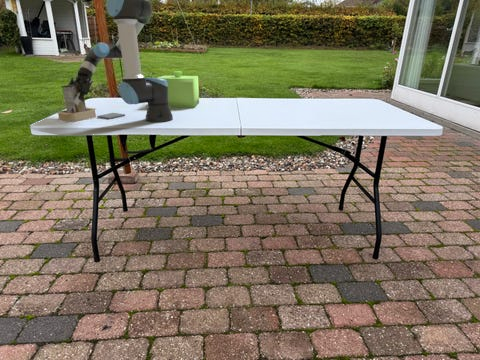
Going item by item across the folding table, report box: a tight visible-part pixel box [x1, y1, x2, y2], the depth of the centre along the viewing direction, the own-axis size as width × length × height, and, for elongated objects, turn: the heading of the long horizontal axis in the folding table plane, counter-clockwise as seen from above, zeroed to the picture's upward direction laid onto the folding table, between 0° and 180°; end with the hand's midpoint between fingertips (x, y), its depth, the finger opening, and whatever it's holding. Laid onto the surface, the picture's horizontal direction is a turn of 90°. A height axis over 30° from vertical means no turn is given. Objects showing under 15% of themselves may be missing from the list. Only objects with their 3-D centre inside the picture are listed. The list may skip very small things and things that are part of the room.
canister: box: [158, 70, 200, 109], centre depth 241 cm, size 25×21×23 cm
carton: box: [55, 106, 97, 123], centre depth 199 cm, size 13×20×4 cm, turn 152°
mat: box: [96, 112, 126, 120], centre depth 204 cm, size 10×12×1 cm
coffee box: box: [61, 84, 87, 113], centre depth 196 cm, size 9×6×16 cm
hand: (70, 103), depth 193 cm, fingers closed on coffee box, 7 cm apart
